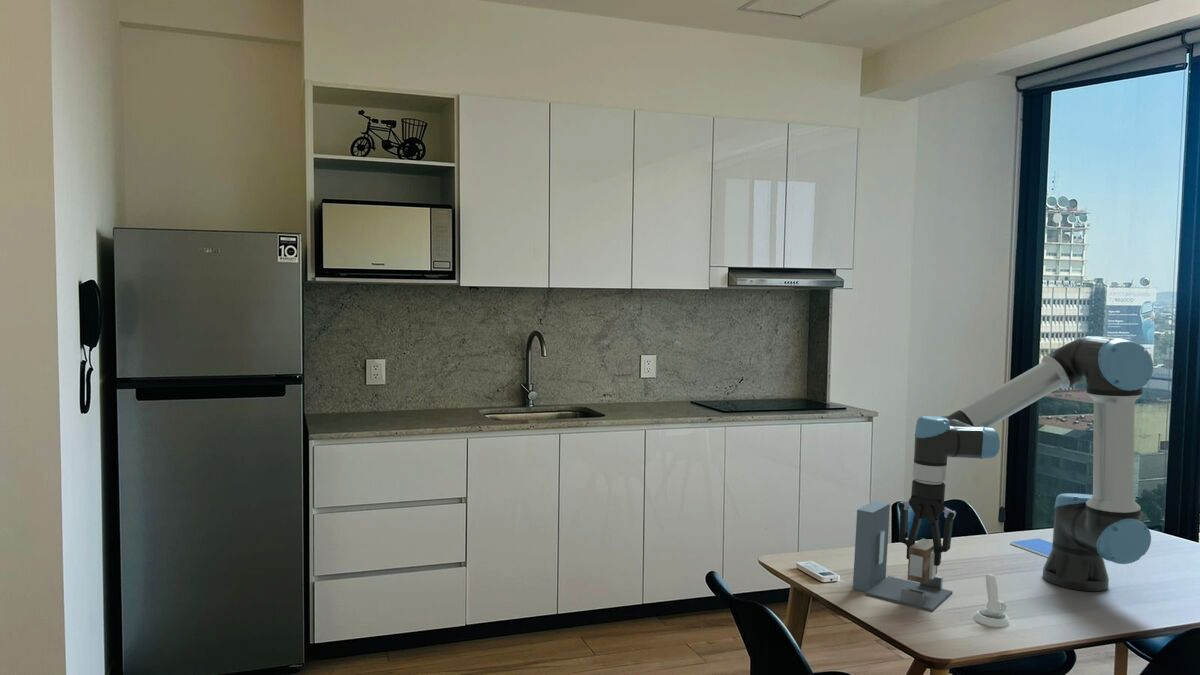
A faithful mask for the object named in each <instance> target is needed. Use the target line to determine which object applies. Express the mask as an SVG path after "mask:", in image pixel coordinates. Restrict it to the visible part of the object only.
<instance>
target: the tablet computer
mask: <svg viewBox="0 0 1200 675" xmlns="http://www.w3.org/2000/svg"><path fill="white" fill-rule="evenodd" d="M1009 544H1010V545H1011V546H1014V547H1016V548H1020V549H1022V550H1025V551H1027V552H1030V553H1034V554H1037V555H1040V556H1041V557H1044V558H1047V559H1048V556H1049V554H1050V552H1051V550H1052V544H1053V542H1052V541H1051V542H1050V541H1048V540H1045V539H1041V538H1031V539H1024V540H1023V539H1022V540H1016V541H1011V542H1009Z"/></svg>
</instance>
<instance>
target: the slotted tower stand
mask: <svg viewBox="0 0 1200 675" xmlns="http://www.w3.org/2000/svg"><path fill="white" fill-rule="evenodd" d="M890 509H891V503H888V502H884V501H883V502H882V501H878V500H873V501H871V502H870V503H868V504H866V505H863V506H862V507H860V508H857V511H856V521H855V522H856V523H855V525H856V526H855V541H854V543H855V544H854V559H853V561H854V562H853V581H852V590H857V591H860V592H865V596H868V597H871V598H877V599H880V600H885V601H888V602H892V603H896V604H900V605H905V606H908V607H912V608H917V609H920V610H924V611H928V612H934V611H935V610H936V609H938V608H939V607H940V606H941V604H943V603H944V602H945V601H946V600H947V599H949V597H950V596H951V595H952V594H953V590H949V589H946V588H943V580H944V576H940V575H937V574H936V577H935V578H933V579H930V580H928V581H927V582H926V583H925V584H923V583H919V582H915V581H910V580H907V579H902V578H898V577H894V576H889V575H888V576H887V562H888V546H889V544H888V542H889V529H890V528H889V527H890V526H889V525H890V524H889V523H890Z"/></svg>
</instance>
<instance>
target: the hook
mask: <svg viewBox="0 0 1200 675" xmlns="http://www.w3.org/2000/svg"><path fill="white" fill-rule="evenodd" d="M985 584H986V592H987V600H988V601H987V604H986V608H980V609H977V611H976V612H975V614H974V615H973V617H972V618H973V620H974V621H976V622H977V623H978V624H981V625H984V626H989V627H994V628H1007V627H1009V626H1010V625H1011V622H1010V619H1009V616H1008V615H1007V614H1006V613H1005V611H1006V609H1007V605H1006V603H1005V601H1003V600H1000V598H999V597H1000V596H999V591H998V590H999V589H998V582H997V576H996V575H995V574H991V573H987V574H986V575H985ZM987 616H993V617H997V618H993V617H987Z"/></svg>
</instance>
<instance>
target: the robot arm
mask: <svg viewBox="0 0 1200 675" xmlns="http://www.w3.org/2000/svg"><path fill="white" fill-rule="evenodd" d="M1153 374H1154V362H1153V359H1152V356H1151V355H1150V353H1149V351H1148V350H1147V349H1146V348H1145V347H1144V346H1143V345H1141V344H1140V343H1138V342H1136V341H1133V340H1129V339H1126V338H1120V337H1108V336H1098V335H1087V336H1083V337H1080V338H1077V339H1074V340H1073V341H1071V342H1067V344H1064V345H1062V346H1060V347H1059V348H1057V349H1055V350H1053V351H1051V352H1049V353H1048V354H1046V355H1044V356H1043V357H1042V358H1041V363H1038V364H1037V365H1035V366H1034V367H1032V368H1030V369H1028V370H1027V371H1025V372H1023V373H1021V374H1019V375H1018V376H1016V377H1014V378H1012V379H1011V380H1009V381H1007V382H1005V383H1003V384H1002V385H1000V386H999V387H996V388H995V389H993V390H991V391H989V392H988V393H986V394H984V395H982V396H981V397H979V398H977V399H976V400H974V401H972V402H970V403H969V404H967V405H965V406H964V407H962V408H960V409H959V410H956V411H954V412H952V413H951V414H949V415H938V416H934V415H923V416H920V417H919V416H918V418H917V420H916V425H915V431H914V432H915V433H914V451H913V452H914V453H913V454H914V455H913V465H912V478H913V480H912V481H911V491H910V492H911V495H910V498H909V499H908V500H907V501H905V500H902V501H900V502H898V503H897V506H898V511H899V512H900V513H899V543H901V544H903V545H905V546H906V556H905V557H906V559H907V560H909V547H910V546H912V545H913V544H915V543H916V542H917V541H916V540H917V537H918V533H919V529H920V526H921V523H922V521H923V519H924V520H928V521H929V525H930V530H931V538H932V539H931V540H933V546H934V550H933V551H932V552H931V557H930V572H929V579H933V578H935V577H936V575H937V574H936V566H937V567H939V566H940V565H941V563H942V553H946V552H948V551H949V550H950V549H951V543H952V542H951V541H952V534H953V524H954V519H955V518H956V516H957V511H956V510H952V509H950V508H948V507H947V505H946V503H945V494H946V484H945V482H946V479H947V477H946V476H947V467H948V465H947V464H948V458H967V459H980V460H983V459H993V458H995V457H996V456H998V454H999V451H1000V448H1001V447H1000V446H1001V440H1000V439H1001V438H1000V436H999V433H998V431H997V430H996V429H995V428H993V426H994V425H996V424H998V423H1000V422H1001V421H1003V420H1005V419H1007V418H1009V417H1010V416H1012V415H1013V414H1016V413H1017V412H1019V411H1021V410H1023V409H1024V408H1027V407H1028V406H1030V405H1031V404H1033V403H1035V402H1038V400H1040V399H1042V398H1044V397H1047V395H1049V394H1051V393H1053V392H1055V391H1056V390H1058V389H1064V390H1067V389H1068V388H1071V387H1072V386H1074V385H1077V384H1080V383H1086V394H1087V396H1088V397H1089V398H1091V399H1092V401H1093V441H1092V445H1093V446H1092V447H1093V448H1092V451H1093V452H1092V494H1087V493H1086V494H1085V493H1075V492H1074V493H1069V492H1068V493H1060V494H1058V495H1057V496H1056V498H1055V503H1054V506H1053V509H1054V515H1053V528H1052V529H1053V534H1052V543H1053V544H1052V550H1051V552H1050V554H1049V556H1048V558H1047V559H1046V561H1045V563H1044V566H1043V569H1042V578H1043V579H1044V580H1045V581H1047V582H1049V583H1051V584H1053V585H1056V586H1060V587H1062V588H1065V589H1071V590H1076V591H1082V592H1083V591H1084V592H1102V591H1106V590H1107V589H1109V581H1110V578H1109V574H1108V571H1107V568H1106V563H1105V560H1106V561H1108V562H1113V563H1115V564H1117V565H1128V564H1132V563H1135V562H1137V561H1139V560H1140V559H1141V558H1142V557H1143V556H1144V555H1146V553H1148V550H1149V549H1150V547H1151V544H1152V534H1151V531H1150V529H1149V528H1148V527H1147V524H1145V523H1144V522H1143V521H1141V520H1142V516H1141V515H1142V513H1141V511H1142V510H1141V509H1142V508H1141V505H1140V504H1138V503H1137V502H1136V501H1135V499H1134V495H1135V494H1134V491H1135V490H1134V488H1135V486H1134V481H1135V402H1136V401H1137V400H1139V398H1141V397H1142V396H1143V388H1144V386H1146V385H1147V384H1148V381H1150V380H1151V378H1152V376H1153ZM910 508H911V510H912V511H913V513H914V516H913V519H912V520H913V522H912V524H911V527H910V530H909V528H908V527H909V509H910ZM943 513H944V515H943V516H944V517H945V521H944V527H943V537H942V538H941V529H940V518H939V517H940V516H941V515H942V514H943ZM908 530H909V533H908Z"/></svg>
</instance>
